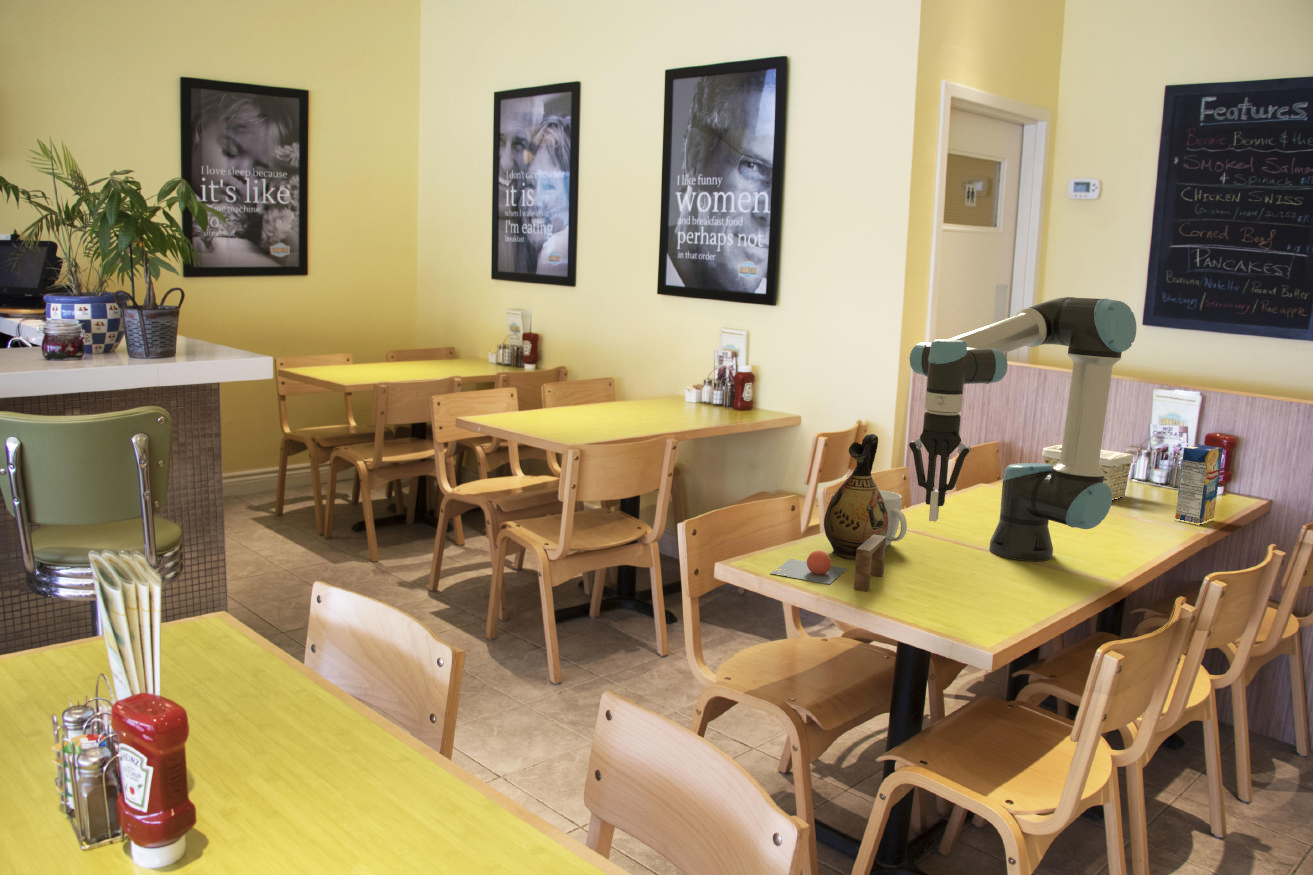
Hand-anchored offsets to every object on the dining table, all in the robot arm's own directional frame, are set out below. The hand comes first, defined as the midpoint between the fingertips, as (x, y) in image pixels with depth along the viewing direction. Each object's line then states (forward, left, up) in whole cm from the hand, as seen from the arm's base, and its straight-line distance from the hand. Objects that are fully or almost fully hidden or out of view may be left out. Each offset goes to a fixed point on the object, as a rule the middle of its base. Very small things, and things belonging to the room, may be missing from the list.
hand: (933, 519), depth 223 cm
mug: (+19, -33, -17) cm, 42 cm away
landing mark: (+27, 0, -16) cm, 32 cm away
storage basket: (-23, -134, -17) cm, 137 cm away
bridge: (+13, 0, -16) cm, 21 cm away
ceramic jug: (+22, -21, -17) cm, 35 cm away
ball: (+25, +1, -14) cm, 28 cm away
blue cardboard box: (-55, -114, -17) cm, 128 cm away
